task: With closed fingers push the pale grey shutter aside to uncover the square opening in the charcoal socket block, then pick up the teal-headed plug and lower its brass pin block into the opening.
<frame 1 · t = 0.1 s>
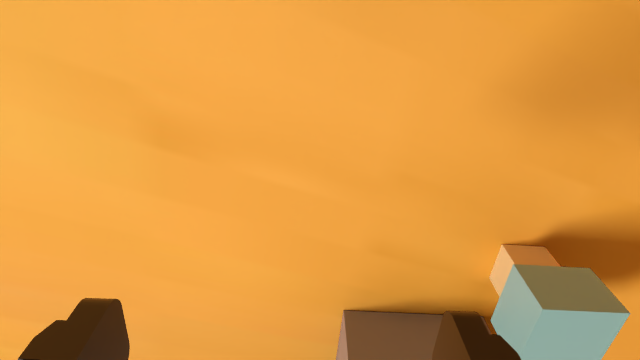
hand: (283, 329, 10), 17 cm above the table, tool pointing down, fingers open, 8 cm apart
plug: (516, 262, 32), on the table
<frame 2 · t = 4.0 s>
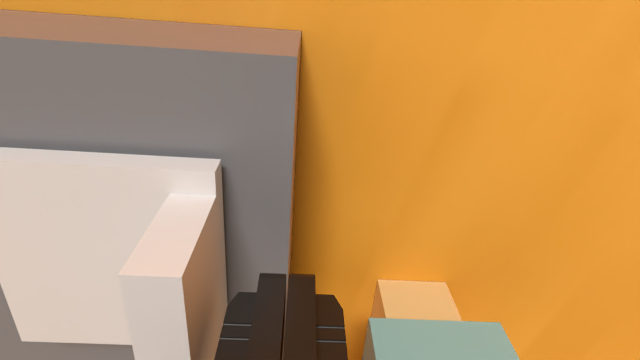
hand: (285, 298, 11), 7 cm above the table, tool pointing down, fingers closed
plug: (406, 306, 21), on the table
shutter: (87, 295, 11), point 7 cm above the table, slide at 0.2 cm, touching gripper
socket: (102, 168, 17), on the table
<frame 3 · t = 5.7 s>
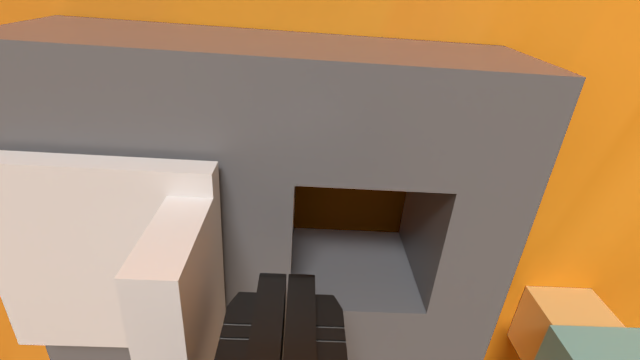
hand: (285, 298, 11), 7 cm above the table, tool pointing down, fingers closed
plug: (547, 312, 21), on the table
shutter: (83, 298, 11), point 7 cm above the table, slide at 7.7 cm, touching gripper
socket: (282, 179, 17), on the table
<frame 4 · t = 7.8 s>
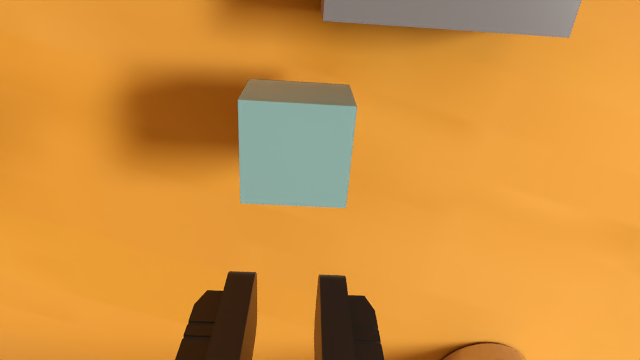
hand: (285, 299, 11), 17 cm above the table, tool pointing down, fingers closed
plug: (298, 110, 26), on the table
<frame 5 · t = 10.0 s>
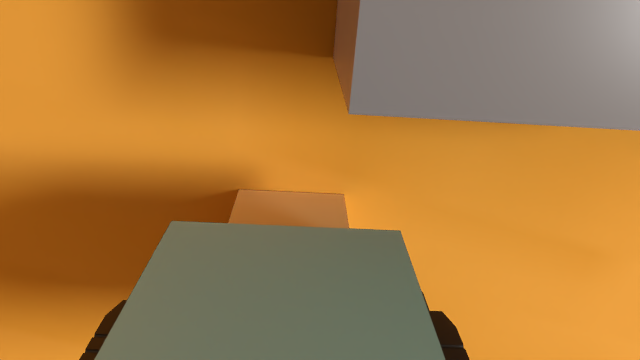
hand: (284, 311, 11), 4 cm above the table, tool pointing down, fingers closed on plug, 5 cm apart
plug: (290, 235, 14), on the table, touching gripper
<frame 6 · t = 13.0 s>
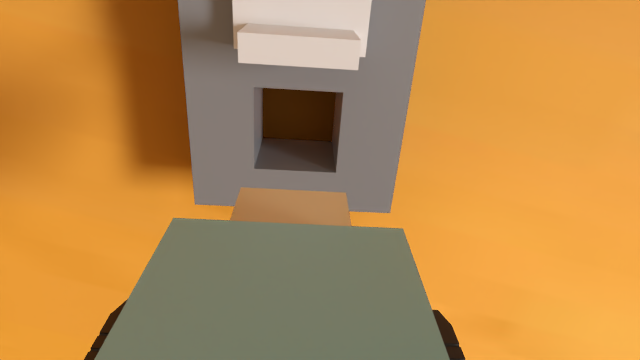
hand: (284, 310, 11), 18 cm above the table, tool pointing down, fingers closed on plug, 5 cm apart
plug: (291, 233, 14), point 15 cm above the table, touching gripper
socket: (300, 60, 26), on the table
when the fingers open (6 cm above the table, at t = 15.5 s): plug drops 1 cm, resting on socket.
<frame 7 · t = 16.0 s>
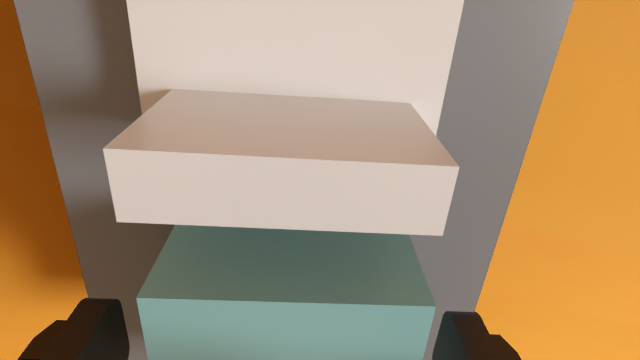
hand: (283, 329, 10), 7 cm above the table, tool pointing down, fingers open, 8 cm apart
plug: (295, 211, 15), point 1 cm above the table, touching socket
socket: (296, 122, 15), on the table
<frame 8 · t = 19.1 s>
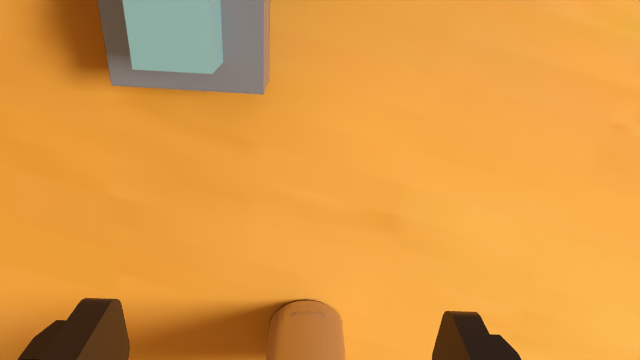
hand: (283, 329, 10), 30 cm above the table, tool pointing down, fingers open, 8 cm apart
plug: (196, 18, 33), point 1 cm above the table, touching socket
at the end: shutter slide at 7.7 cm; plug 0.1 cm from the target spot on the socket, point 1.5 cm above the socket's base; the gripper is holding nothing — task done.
